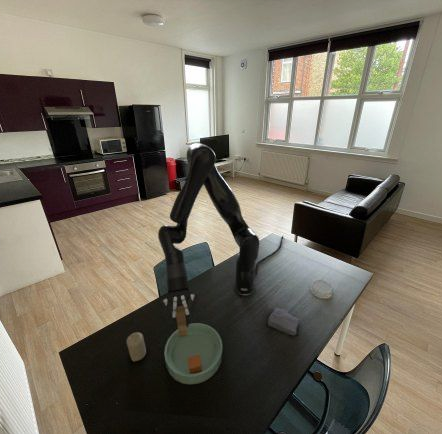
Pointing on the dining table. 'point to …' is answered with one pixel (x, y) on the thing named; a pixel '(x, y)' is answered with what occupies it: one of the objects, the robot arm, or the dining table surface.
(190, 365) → the block
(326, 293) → the coaster
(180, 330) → the stirrer
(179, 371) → the bowl
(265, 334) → the dining table surface
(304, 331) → the dining table surface
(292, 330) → the stone block
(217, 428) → the dining table surface
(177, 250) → the robot arm
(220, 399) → the dining table surface
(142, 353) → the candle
